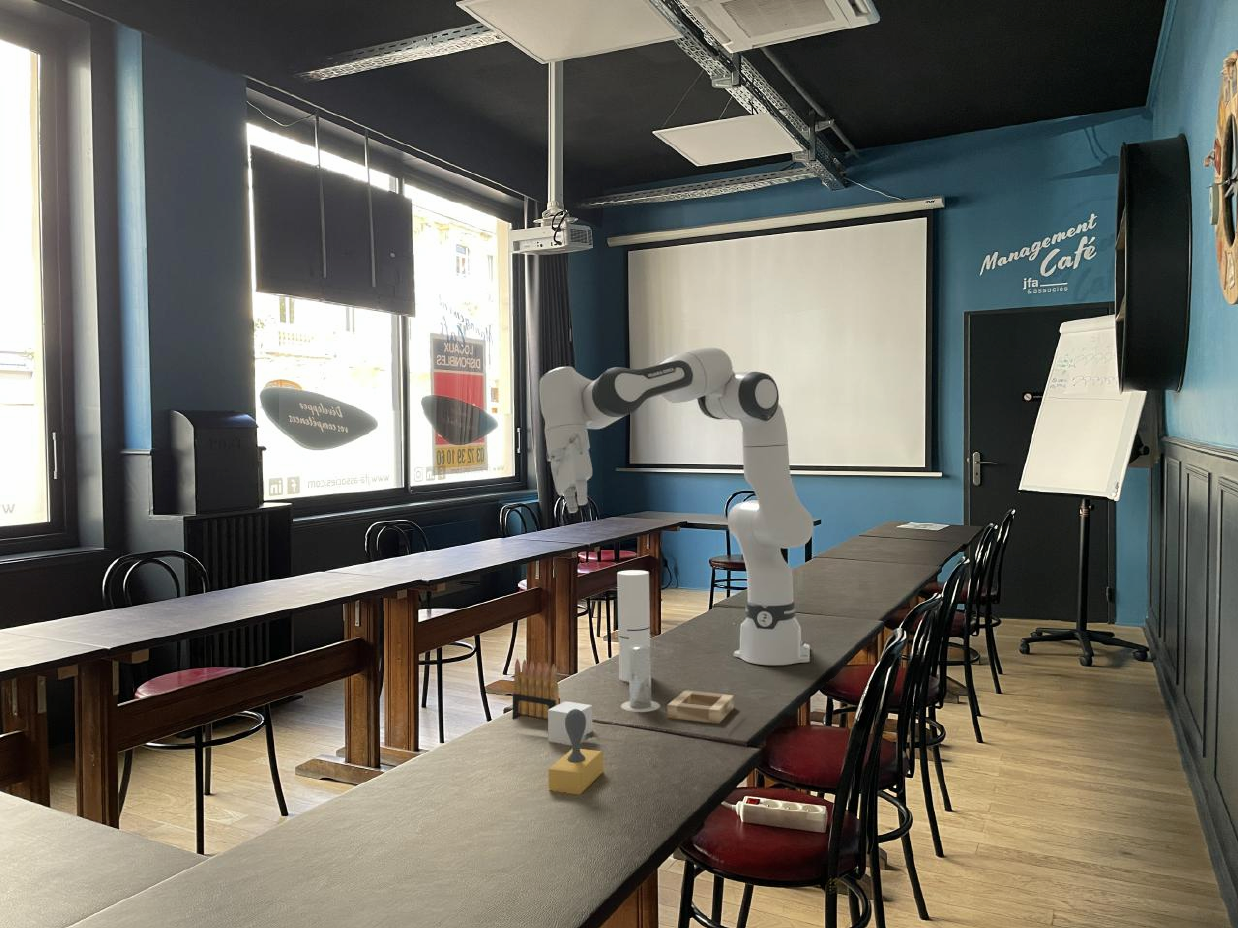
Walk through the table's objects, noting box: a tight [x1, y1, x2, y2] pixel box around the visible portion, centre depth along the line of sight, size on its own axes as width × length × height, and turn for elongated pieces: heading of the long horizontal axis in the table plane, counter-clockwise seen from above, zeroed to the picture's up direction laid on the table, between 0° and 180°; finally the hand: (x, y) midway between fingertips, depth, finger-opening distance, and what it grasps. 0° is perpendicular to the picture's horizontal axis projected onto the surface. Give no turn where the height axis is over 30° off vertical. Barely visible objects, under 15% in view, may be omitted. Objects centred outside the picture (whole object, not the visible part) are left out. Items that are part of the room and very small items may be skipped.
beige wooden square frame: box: [666, 690, 735, 724], centre depth 180 cm, size 10×10×4 cm
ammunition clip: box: [512, 658, 561, 721], centre depth 180 cm, size 11×2×12 cm, turn 60°
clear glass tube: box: [628, 645, 652, 709], centre depth 185 cm, size 4×4×12 cm
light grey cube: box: [547, 700, 594, 746], centre depth 170 cm, size 6×6×6 cm
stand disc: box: [620, 700, 661, 713], centre depth 186 cm, size 8×8×1 cm
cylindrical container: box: [616, 569, 651, 683], centre depth 206 cm, size 7×7×25 cm
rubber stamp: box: [547, 709, 604, 796], centre depth 149 cm, size 10×6×12 cm, turn 160°
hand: (578, 508), depth 187 cm, fingers open, 8 cm apart
